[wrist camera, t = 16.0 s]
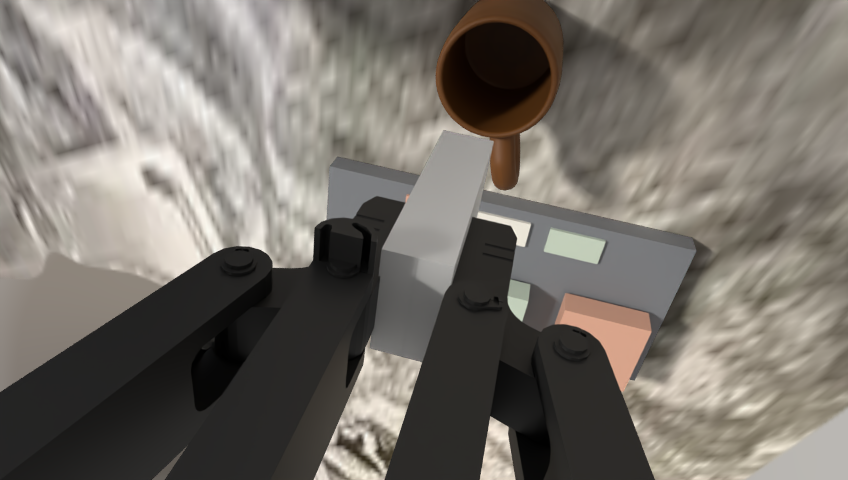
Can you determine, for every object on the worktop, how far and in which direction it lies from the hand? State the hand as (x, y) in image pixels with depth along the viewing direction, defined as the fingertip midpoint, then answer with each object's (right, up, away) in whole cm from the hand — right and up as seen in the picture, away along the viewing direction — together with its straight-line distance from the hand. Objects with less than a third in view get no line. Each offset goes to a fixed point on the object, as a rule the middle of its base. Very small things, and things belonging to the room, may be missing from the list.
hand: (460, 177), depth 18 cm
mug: (+5, +11, +26) cm, 29 cm away
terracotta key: (+14, -10, +34) cm, 38 cm away
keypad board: (+5, -4, +36) cm, 36 cm away
